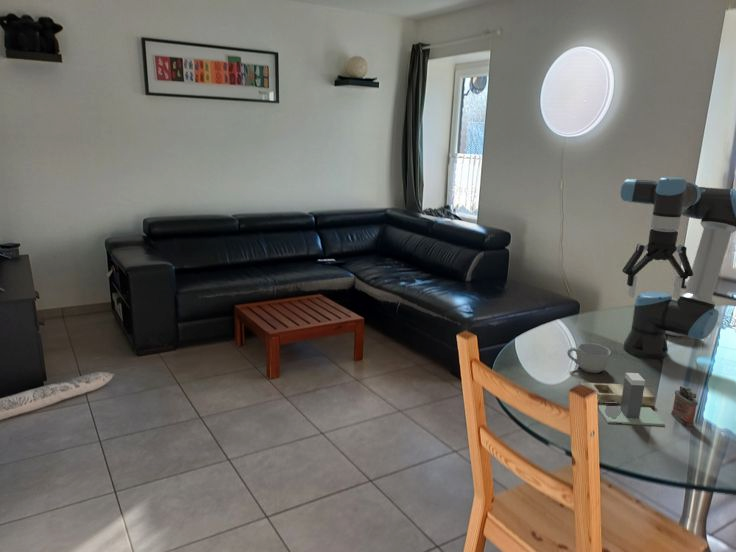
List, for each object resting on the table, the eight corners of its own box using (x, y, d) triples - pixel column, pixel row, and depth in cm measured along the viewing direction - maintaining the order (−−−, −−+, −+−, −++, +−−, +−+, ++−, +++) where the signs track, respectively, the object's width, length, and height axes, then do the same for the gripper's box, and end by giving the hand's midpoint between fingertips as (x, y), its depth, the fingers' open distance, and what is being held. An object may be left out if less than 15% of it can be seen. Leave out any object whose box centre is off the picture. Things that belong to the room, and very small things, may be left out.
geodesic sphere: (697, 317, 233) (679, 290, 231) (711, 329, 219) (693, 300, 218) (663, 335, 237) (646, 309, 235) (676, 347, 223) (657, 320, 222)
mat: (649, 408, 167) (649, 406, 167) (664, 425, 157) (664, 423, 157) (595, 406, 168) (596, 404, 168) (607, 423, 158) (607, 421, 158)
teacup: (606, 365, 197) (609, 345, 195) (608, 378, 187) (611, 356, 185) (565, 360, 202) (568, 339, 199) (565, 371, 192) (568, 350, 190)
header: (642, 393, 176) (643, 385, 176) (653, 405, 169) (654, 397, 168) (579, 390, 177) (580, 382, 177) (587, 402, 170) (588, 393, 169)
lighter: (668, 413, 164) (673, 382, 162) (678, 412, 165) (684, 382, 162) (685, 427, 157) (691, 395, 154) (696, 426, 157) (702, 394, 154)
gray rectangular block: (632, 410, 165) (638, 373, 161) (639, 418, 160) (645, 380, 157) (619, 409, 165) (625, 372, 162) (626, 417, 160) (632, 380, 157)
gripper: (700, 228, 168) (688, 294, 174) (617, 226, 170) (608, 291, 175) (713, 233, 161) (701, 301, 167) (626, 230, 163) (617, 298, 168)
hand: (653, 296), depth 171 cm, fingers open, 13 cm apart
